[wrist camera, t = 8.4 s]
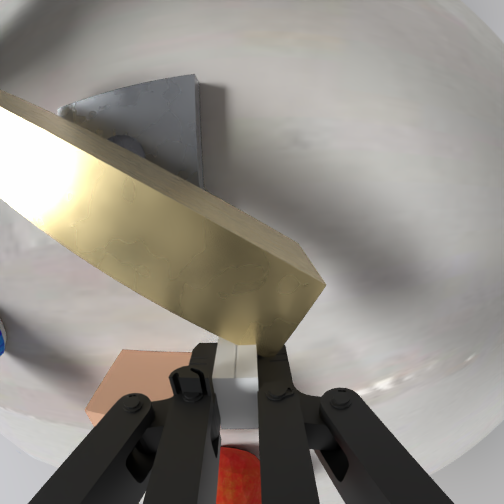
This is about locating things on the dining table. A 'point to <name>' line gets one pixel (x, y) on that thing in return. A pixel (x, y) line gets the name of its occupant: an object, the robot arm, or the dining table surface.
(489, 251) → the dining table surface
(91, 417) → the peach tan cube
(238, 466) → the apple
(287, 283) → the yellow t-shaped bar
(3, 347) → the beer can
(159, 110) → the grey square base plate
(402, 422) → the dining table surface
